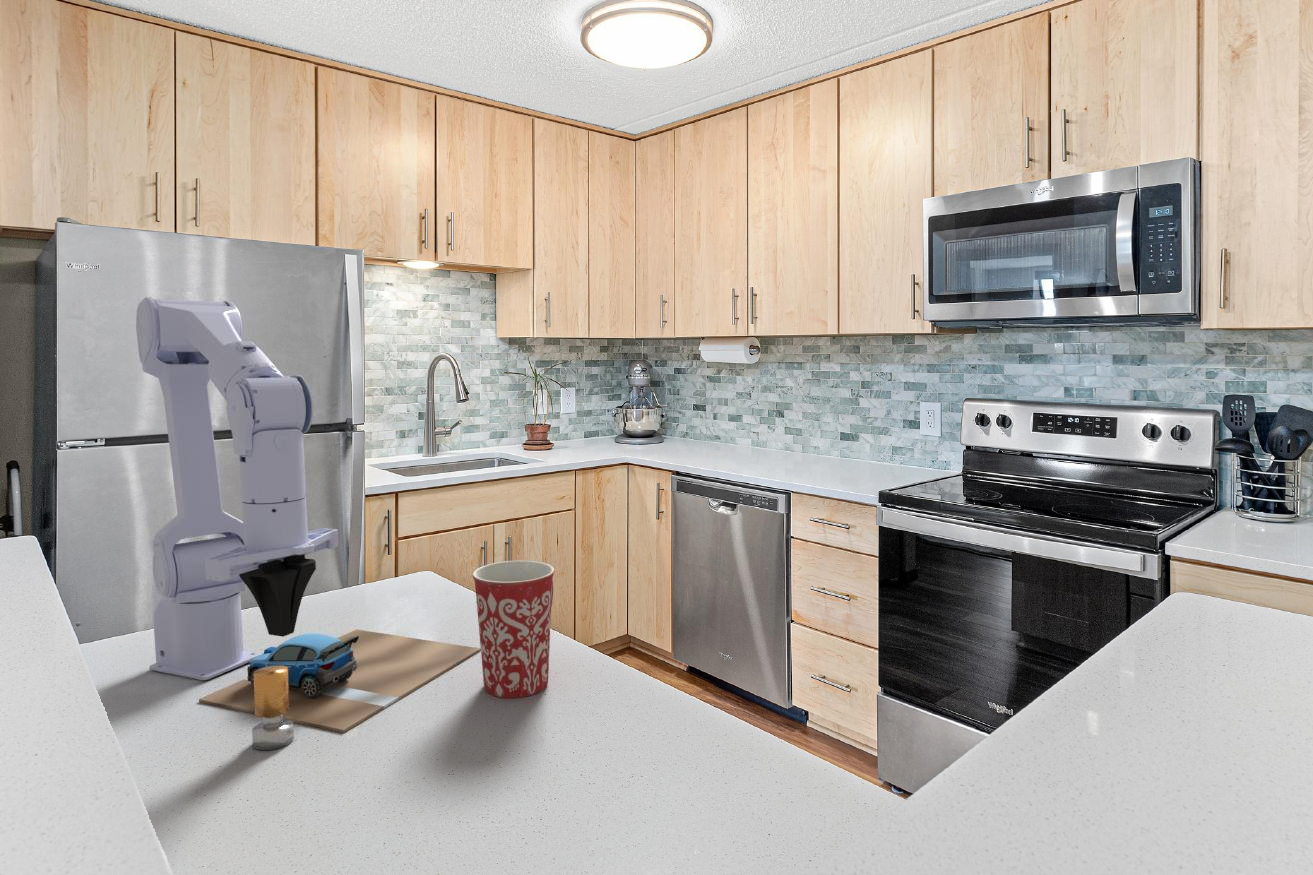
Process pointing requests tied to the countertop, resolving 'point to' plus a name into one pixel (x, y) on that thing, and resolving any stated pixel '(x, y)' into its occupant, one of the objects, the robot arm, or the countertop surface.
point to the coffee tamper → (272, 708)
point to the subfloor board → (360, 681)
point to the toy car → (309, 661)
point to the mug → (514, 626)
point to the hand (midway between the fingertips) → (281, 633)
